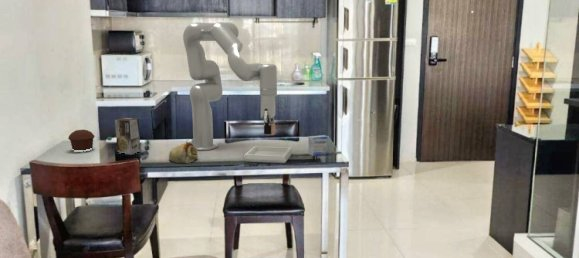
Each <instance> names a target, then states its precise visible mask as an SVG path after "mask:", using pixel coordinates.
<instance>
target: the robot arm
mask: <svg viewBox="0 0 579 258" xmlns="http://www.w3.org/2000/svg"><path fill="white" fill-rule="evenodd" d="M239 32H240V31H239V29H238V26H237V25H235V24H234V23H232V22H223V21H221V22H192V23H191V24H188V25H187V26H186V27H185V29H184V31H183V33H182V39H183V44H184V48H185V52H186V58H187V59H186V60H187V64H188V72H189V76H190V78H191V80H193V81H204V82H200V83H196V84H194V85H193V86H191V87H190V90H189V99H190V102H191V103H190V104H191V111H192V112H191V113H192V115H191V116H192V134H193V135H192V137H193V138H191V139H190V138H186V139H185V144H186V143H191V144H192V145H193V146H194V147H195V148H196V150H197V151H210V150H211V151H212V150H214V149H216V148H217V144H216V143H214V127H213V123H214V122H213V109H212V107H211V104H210V103H212V102H217V101H219V100H220V99H221V98H222V96H223V85H222V78H221V76H222V75H221V71H220V68H219V65H218V64H217V62H215V61H214V60H211V59H206V53H205V49H204V47H203V45H202V44H201V42H215V43H217V45H218V46H219V47H220V48H221V49H222V51H223V52H224V53H225V54H226V55H227V61H228V65H229V68H230V69H231V71H232V72H233V73H234V74H235V75H236V77H238V78H239V80H241V81H243V82H252V81H254V82H255V81H259V96H260V97H261V98H260V119H263V135H264V134H269V135H268V136H271V135H270V134H271V120H274V121H275V116H276V97H277V96H278V77H277V76H278V73H277V72H278V70H277V69H278V67H277V65H276V64H273V63H272V64H271V63H268V64H267V63H266V64H265V63H264V64H263V63H246V62H245V60H244V58H243V57H241V55H240V52H241V51H242V50H243V47H244V45H243V43H242V41H240V40H239V38H238V37H239V34H240V33H239ZM268 120H269V121H268Z"/></svg>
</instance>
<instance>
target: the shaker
mask: <svg viewBox="0 0 579 258" xmlns="http://www.w3.org/2000/svg"><path fill="white" fill-rule="evenodd" d="M268 121H269V120H268ZM263 135H264V136H274V135H276V122H275V119H274V120H271V134H270V135H269V134H264V133H263Z"/></svg>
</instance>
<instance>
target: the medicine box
mask: <svg viewBox="0 0 579 258" xmlns="http://www.w3.org/2000/svg"><path fill="white" fill-rule="evenodd" d="M328 142H329V137H328V136H327V135H325V134H322V135H320V134H319V135H310V136H308V155H309V156H311V157H318V156H326V155H328V154H329V153H328V149H329V148H328V144H329V143H328Z"/></svg>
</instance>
